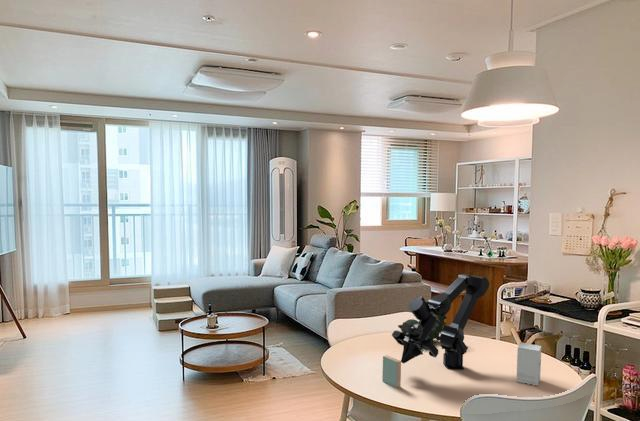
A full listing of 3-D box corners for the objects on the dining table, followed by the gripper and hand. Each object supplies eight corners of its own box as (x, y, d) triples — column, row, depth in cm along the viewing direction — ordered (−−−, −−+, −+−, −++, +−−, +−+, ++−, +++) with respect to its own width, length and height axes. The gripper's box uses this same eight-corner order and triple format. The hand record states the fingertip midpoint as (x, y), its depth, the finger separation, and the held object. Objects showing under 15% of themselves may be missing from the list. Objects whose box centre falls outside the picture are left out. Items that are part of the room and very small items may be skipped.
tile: (386, 380, 164) (387, 355, 164) (400, 386, 158) (401, 361, 158) (382, 381, 163) (382, 356, 163) (396, 388, 157) (396, 362, 157)
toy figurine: (435, 341, 218) (390, 341, 209) (439, 301, 219) (394, 300, 209) (448, 347, 210) (401, 347, 200) (452, 305, 210) (406, 304, 200)
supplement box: (538, 386, 161) (539, 351, 161) (515, 381, 165) (516, 347, 165) (540, 380, 168) (541, 345, 167) (519, 375, 172) (520, 342, 171)
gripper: (395, 308, 174) (373, 342, 168) (433, 319, 159) (410, 357, 153) (409, 326, 179) (388, 359, 172) (448, 339, 163) (426, 375, 157)
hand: (402, 362), depth 164 cm, fingers closed
